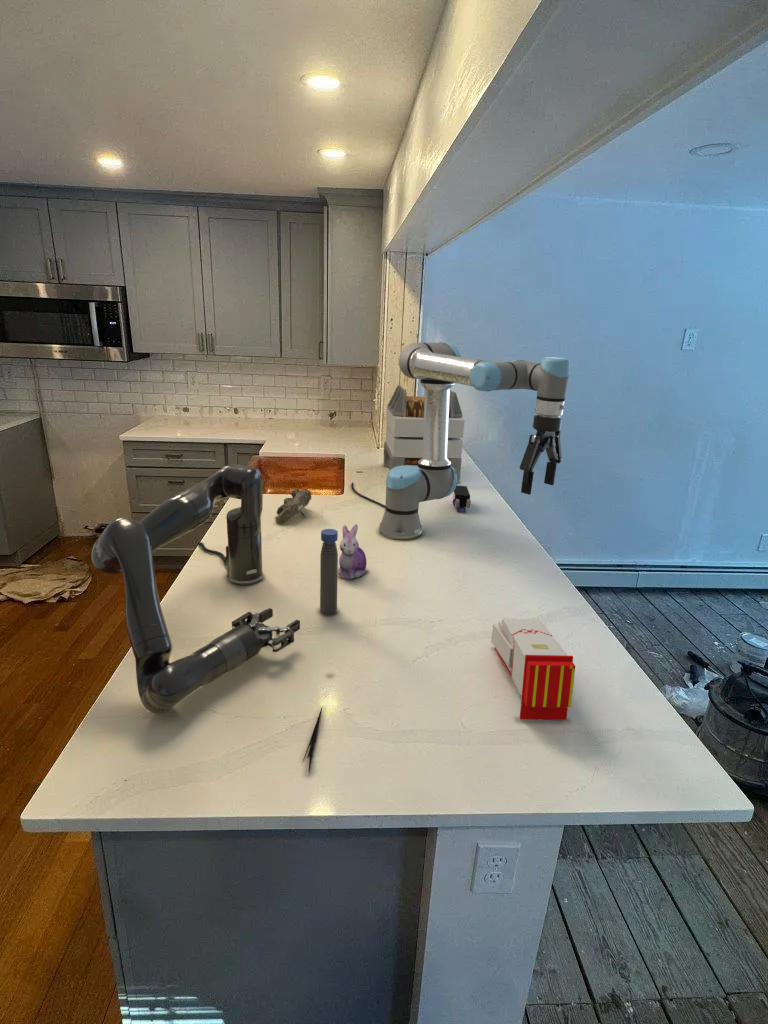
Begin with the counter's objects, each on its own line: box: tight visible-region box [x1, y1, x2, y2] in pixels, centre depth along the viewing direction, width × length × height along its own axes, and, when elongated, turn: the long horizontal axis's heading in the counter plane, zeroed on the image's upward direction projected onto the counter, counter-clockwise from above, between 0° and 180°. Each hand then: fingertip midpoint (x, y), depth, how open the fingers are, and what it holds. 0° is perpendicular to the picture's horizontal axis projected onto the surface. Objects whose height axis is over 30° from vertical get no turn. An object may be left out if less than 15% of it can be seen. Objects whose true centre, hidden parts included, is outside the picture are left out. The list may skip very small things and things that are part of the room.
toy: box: [490, 617, 576, 721], centre depth 122 cm, size 12×13×30 cm
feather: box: [301, 673, 332, 771], centre depth 108 cm, size 2×28×2 cm
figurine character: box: [451, 484, 472, 513], centre depth 228 cm, size 7×8×15 cm
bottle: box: [319, 541, 339, 616], centre depth 144 cm, size 4×4×22 cm
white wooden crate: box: [383, 384, 465, 484], centre depth 268 cm, size 34×33×41 cm
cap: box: [320, 528, 339, 543], centre depth 140 cm, size 4×4×2 cm
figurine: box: [338, 523, 368, 580], centre depth 166 cm, size 9×10×15 cm
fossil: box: [274, 488, 312, 525], centre depth 211 cm, size 22×10×15 cm
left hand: (285, 617), depth 132 cm, fingers open, 8 cm apart
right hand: (537, 488), depth 164 cm, fingers open, 13 cm apart
